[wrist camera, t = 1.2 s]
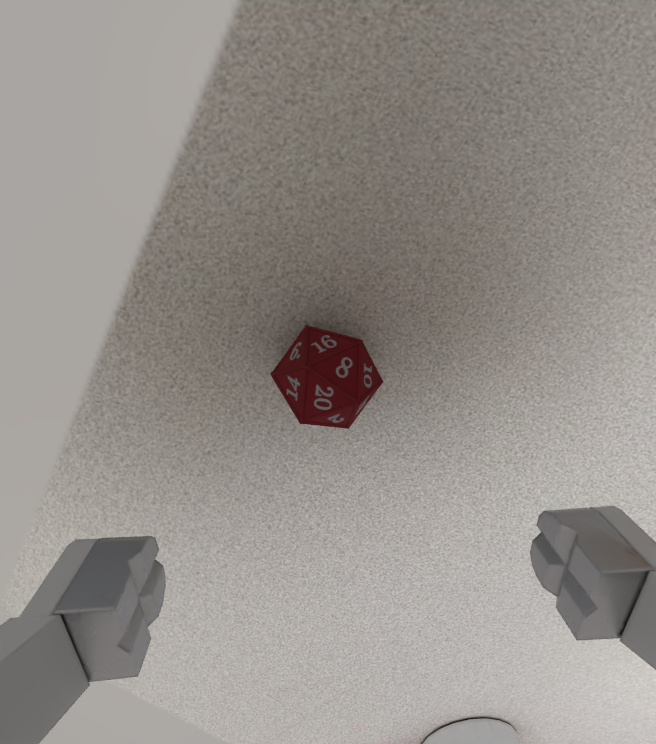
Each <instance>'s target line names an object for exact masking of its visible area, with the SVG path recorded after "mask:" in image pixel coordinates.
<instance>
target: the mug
mask: <svg viewBox="0 0 656 744" xmlns="http://www.w3.org/2000/svg"><path fill="white" fill-rule="evenodd" d="M423 744H522V742H521V740H520V737H519V735H518V733H517V732H516V731H515V730H514V729H513V727H512V726H511V725H509V724H507V723H505V722H502V721H500V720H493V719H486V718H484V719H469V720H465V721H461V722H456V723H453V724H450V725H448V726H446V727H443V728H441V729H439V730H437V731H436V732H435V733H433V734H432V735H430V736H429V737H428V738H427V739H426V740H425V741H424V743H423Z"/></svg>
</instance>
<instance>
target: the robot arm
mask: <svg viewBox="0 0 656 744" xmlns="http://www.w3.org/2000/svg"><path fill="white" fill-rule="evenodd" d="M537 526H538V528H539V529H540V531H541V533H540V534H539V535H538V536H537V537H536V538H535V539H534V540H533V541H532V546H531V551H530V555H531V561H532V566H533V569H534V571H535V574H536V576H537V578H538V580H539V581H540V583H541V585H542V586H543V588H545V589H546V590H548V591H549V592H551V593H552V594H553V595H555V596H556V597H557V601H556V608H557V610H558V612H559V613H560V615H561V616H562V618H563V619H564V621H565V622H566V624H567V626H568V627H569V629H570V630H571V632H572V633H573V635H574V637H575V638H576V640H592V639H612V638H621V639H620V641H621V642H622V643H623V644H625V645H626V646H627V647H628V648H629V649H631V650H632V651H633V652H634V653H636V654H637V655H638V656H639V657H641V658H642V659H643V660H644V661H646V662H647V663H648V664H649V665H651V666H652V667H653V668H654V669H656V542H655V541H654V540H653V539H652V538H650V537H649V536H648V535H647V534H646V533H645V532H644V531H643V530H642V529H641V528H640V527H639V526H638V525H637V524H636V523H635V522H634V521H633V520H632V519H630V518H629V517H628V516H627V515H626V514H625V513H624V512H623V511H622V510H621V509H619V508H617V507H615V506H603V507H590V508H577V509H563V510H549V511H543V512H542V513H541V514H540V515H539V518H538V522H537ZM158 551H159V548H158V545H157V542H156V538H155V537H152V536H142V537H115V538H101V539H76V540H75V541H73V542H72V543H70V544H69V545H68V546H67V547H66V549H65V550H64V552H63V553H62V555H61V556H60V558H59V559H58V560H57V562H56V563H55V565H54V566H53V568H52V569H51V571H50V572H49V574H48V575H47V577H46V578H45V580H44V581H43V583H42V584H41V586H40V587H39V589H38V590H37V592H36V593H35V595H34V596H33V597H32V599H31V600H30V602H29V603H28V605H27V606H26V608H25V609H24V611H23V612H22V614H21V615H20V617H18V618H10V619H9V620H7V621H6V622H4V623H3V624H2V625H0V744H39V743H40V742H41V741H42V739H43V738H44V737H45V736H46V735H47V734H48V733H49V731H50V730H51V729H52V728H53V727H54V726H55V725H56V723H57V722H58V721H59V720H60V719H61V718H62V716H63V715H64V714H65V713H66V712H67V711H68V710H69V708H70V707H71V706H72V705H73V704H74V703H75V701H76V700H77V699H78V698H79V697H80V695H82V693H83V692H84V691H85V690H86V689H87V688H88V687H89V685H90V683H89V682H93V681H102V680H111V679H120V678H128V677H137V676H138V675H139V672H140V669H141V667H142V664H143V661H144V658H145V655H146V652H147V649H148V646H149V643H150V640H151V637H150V634H149V630H148V626H149V625H150V624H151V623H152V622H153V621H154V620H155V619H156V618H157V617H158V616H159V613H160V610H161V607H162V604H163V600H164V593H165V586H166V584H165V572H164V568H163V565H162V564H160V563H159V562H158V561H157V560H155V558H156V556H157V553H158Z"/></svg>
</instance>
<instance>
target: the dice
mask: <svg viewBox="0 0 656 744" xmlns="http://www.w3.org/2000/svg"><path fill="white" fill-rule="evenodd" d="M271 376H272V378H273V379H274V381H275V383H276V384H277V386H278V388H279V389H280V391H281V393H282V394H283V396H284V398H285V399H286V401H287V403H288V404H289V406H290V408H291V409H292V411H293V413H294V414H295V416H296V418H297V419H298V421H299V423H300V424H310V425H320V426H329V427H339V428H347V429H349V427H350V426H351V424H352V423H353V422H354V420H355V419H356V418H357V416H358V415H359V414H360V412H361V411H362V410H363V408H364V407H365V406H366V404H367V403H368V401H369V400H370V399H371V397H372V396H373V395H374V393H375V392H376V391H377V389H378V388H379V387H380V385H381V384H382V383H383V380H382V378H381V377H380V375H379V373H378V371H377V369H376V367H375V365H374V363H373V361H372V359H371V357H370V355H369V353H368V352H367V350H366V348H365V346H364V344H363V342H362V340H361V339H356V338H353V337H349V336H345V335H341V334H337V333H334V332H330V331H326V330H322V329H318V328H315V327H311V326H308V325H306V326H305V327H304V329H303V330H302V332H301V333H300V335H299V336H298V337H297V339H296V340H295V341H294V343H293V344H292V345H291V347H290V348H289V350H288V351H287V352H286V354H285V355H284V356H283V358H282V359H281V361H280V362H279V363H278V365H277V366H276V367H275V369H274V370H273V371H272V372H271Z"/></svg>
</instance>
